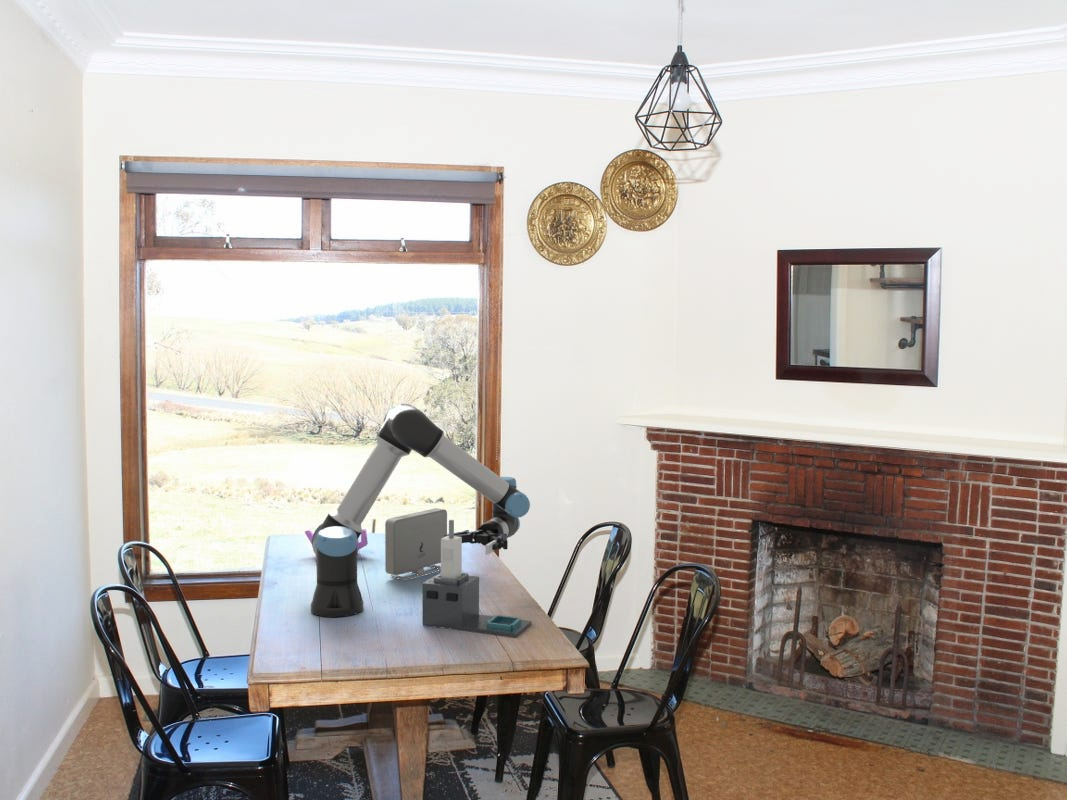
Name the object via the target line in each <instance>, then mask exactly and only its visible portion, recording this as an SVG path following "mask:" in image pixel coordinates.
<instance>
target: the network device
mask: <svg viewBox="0 0 1067 800" xmlns="http://www.w3.org/2000/svg"><path fill="white" fill-rule="evenodd" d="M384 528H385V529H384V531H385V533H384V534H385V535H384V536H385V537H384V539H385V541H384V544H385V549H384V550H385V553H384V555H385V556H384V558H385V559H384V560H385V561H384V563H385V564H384V566H385V568H384V569H385V573H386V574H387V575H388V574H389V575H390V577H391V576H392V577H395V578H394V579H396V578H399V579H398V580H400V579H410V580H412V579H411V578H414V579H416V578H415V577H417V578H419V577H418V576H421V577H423V576H422V575H424V576H426V575H425V574H428V575H430V574H429V573H431V574H433V573H432V572H434V573H436V572H435V571H438V570H441V565H437V564H441V539H442V538H444V535H446V534H448V511H447V510H446V509H445V508H438V507H434V508H431V509H425V510H422V511H418V512H417V511H416V512H413V513H412V512H411V513H408V514H404V515H399V516H394V517H390V518H387V519H386V520H385V523H384ZM428 566H431V567H430V568H432V567H435V568H434V569H432V570H424V569H425V568H427V567H428ZM428 568H429V567H428ZM436 568H438V569H436ZM409 572H412V573H411V574H413V573H416V574H414V575H412V576H409V577H408V576H407V577H406V576H402V575H403V574H407V573H409ZM438 572H439V571H438ZM417 574H418V575H417ZM392 577H391V578H392Z"/></svg>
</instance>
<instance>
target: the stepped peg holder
mask: <svg viewBox="0 0 1067 800" xmlns="http://www.w3.org/2000/svg"><path fill="white" fill-rule="evenodd" d="M421 600H422V601H421V602H422V603H421V604H422V612H421V613H422V614H421V615H422V621H421V622H422V623H421V624H423V625H422V626H424V625H428V626H427V627H432V626H436V627H435V628H440V627H444V628H443V629H448V628H451V629H450V630H455V629H457V631H463V630H465V631H464V632H472V633H480V634H485V635H487V634H488V635H496V636H503V637H511V638H518V637H519V636H520V635H521V634H522V633H523V632H525V630H527V629H528V628H529V627H530V626H532V620H527V619H522V618H521V617H517V616H509V615H502V614H496V615H486V614H480V576H476V575H475V576H474V575H469V572H468V573H467V572H462V576H461V577H460V578H458V579H448V578H441V572H440V573H437V574H436V575H434V576H433V577H431V578H429V579H426V581H424V582H422V599H421Z"/></svg>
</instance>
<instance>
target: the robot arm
mask: <svg viewBox="0 0 1067 800" xmlns="http://www.w3.org/2000/svg"><path fill="white" fill-rule="evenodd" d="M375 437H376V445H375V446H374V448H373V450H372V452H371V453H369V454H370V455H368V458H367V460H366V461H365V462H364V464H363V466H362V468H361V469H360V471H359V473H358V475H357V476H356V478H355V479H354V481H353V483H352V484H351V486H350V488H349V489H348V491H347V492H346V494H345V496H344V497H343V499H342V500H341V502H340V504H339V506H338V507H337V509H336V510H333V511H330V512H328V514H327V516H326V517H325V518H324V520H323V522H322V523H321V524H320V525H318V526H317V528H316V529H315V530H314V532H313V537H312V544H311V546H312V550H313V553H314V555H315V557H316V558H315V559H316V586H315V589H314V593H313V596H312V600H311V603H310V612H311V614H313V615H315V616H318V615H319V617H324V616H326V617H327V618H337V617H336V616H343V617H348V616H347V615H349V616H353V615H352V614H354V615H356V614H355V613H357V614H359V613H361V612H362V611H363V610H364V598H363V597H362V593H361V590H360V588H359V584H358V554H357V545H358V539H359V538H360V537H361V533H362V529H363V528H362V523H363V522H364V520H365V518H366V517H367V515H368V514H369V512H370V510H371V509H372V507H373V505H375V502H376V500H377V498H378V497H379V495H380V494H381V492H382V491H383V488H384V487H385V485H387V484H386V483H388V480H389V479H390V477H391V476H392V473H393V472H394V470H395V468H396V467H397V465H398V464H399V462H400V460H402V458H403V457H406V456H410V454H411V452H412V451H414V452H415V453H417V454H419V455H420V456H422V457H423V458H431V459H432V460H433V461H434V462H436V463H437V464H438V465H440V466H441V467H443V468H444V469H446V470H447V471H448V472H450V473H451V474H453V475H454V476H455V477H457V478H458V479H459V480H461V481H462V482H464V483H465V484H466V485H468V486H470V487H471V488H473V489H474V490H475V491H476V492H477V493H479V494H480V495H482V496H483V497H484V498H486V499H488V500H489V501H490V502H492V503H491V504H492V505H491V506H492V507H491V508H492V509H491V511H492V514H491V515H492V517H491V519H489V520H487V521H486V522H483V523H482V524H481V525H479V526H478V528H477V530H475V531H470V530H468V529H465V530H462V531H459V532H458V531H457V532H454V536H457V537H462V544H467V543H469V544H472V545H473V544H481V545H482V546H484V547H485V555H489V554H492V553H494V552H495V551H497V550H501V549H503V550H508V538H511V537H513V536H515V534H516V533H517V532H518V531H519V529H520V527H521V526H520V525H521V521H520V519H519V518H522V517H524V516H525V515H527V514H528V512H529V510H530V508H531V501H530V500H529V497H527V495H526V494H525V493H523V492H521V491H520V490H519V489H518V488H517V480H516V478H515V477H511V476H499V475H498V474H497V473H495V472H494V471H492V470H491V469H490V468H489V467H488V466H486V465H484V464H483V463H482V462H480V461H479V460H478V459H476V458H475V457H473V456H472V455H471V454H469V453H468V452H466V451H465V450H464V449H463V448H461V447H460V446H458V445H457V444H456V443H454V442H453V441H452V440H450V439H449V438H448V437H446V436H445V432H444V430H443V429H441V428H440V427H438V426H437V425H436V424H435V423H434V422H433V421H432V420H431V419H430V417H428V416H427V415H426V414H425V413H424V412H423V411H421V410H420V409H418V408H417V407H415V406H414V405H411V404H409V403H400V404H398V405H394V406H393V407H391V408H389V410H388V411H387V412H386V414H385V415H384V418H383V423H382V425H381V427H380V428H379V430H378V432H377V434H376V435H375ZM446 536H449V533H447V534H446V535H444V537H446ZM326 617H325V618H326Z"/></svg>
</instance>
